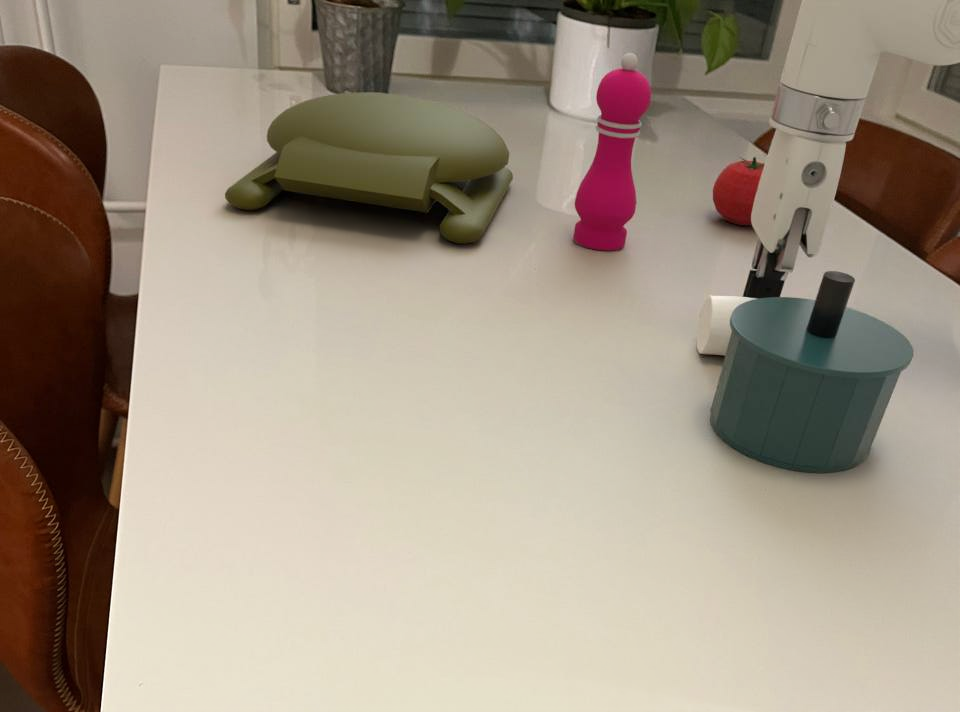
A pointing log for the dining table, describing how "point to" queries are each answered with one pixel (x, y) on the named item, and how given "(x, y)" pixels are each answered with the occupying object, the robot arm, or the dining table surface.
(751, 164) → the tomato
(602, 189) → the pepper mill
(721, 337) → the white bottle
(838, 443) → the pot
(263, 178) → the spaceship
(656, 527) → the dining table surface
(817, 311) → the pot lid
